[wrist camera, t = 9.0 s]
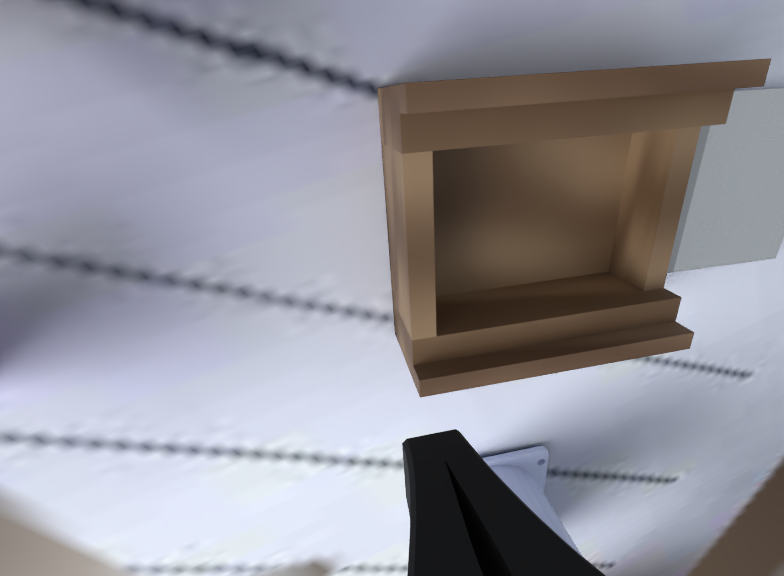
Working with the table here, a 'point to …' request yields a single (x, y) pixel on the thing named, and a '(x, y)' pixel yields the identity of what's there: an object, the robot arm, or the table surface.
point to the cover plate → (735, 187)
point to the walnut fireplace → (541, 215)
